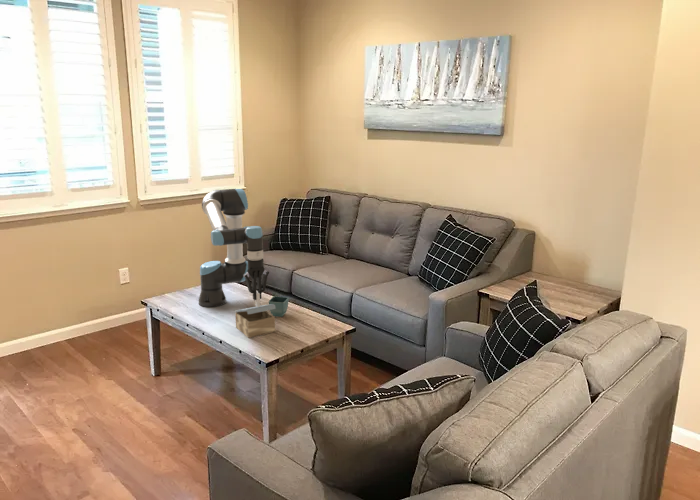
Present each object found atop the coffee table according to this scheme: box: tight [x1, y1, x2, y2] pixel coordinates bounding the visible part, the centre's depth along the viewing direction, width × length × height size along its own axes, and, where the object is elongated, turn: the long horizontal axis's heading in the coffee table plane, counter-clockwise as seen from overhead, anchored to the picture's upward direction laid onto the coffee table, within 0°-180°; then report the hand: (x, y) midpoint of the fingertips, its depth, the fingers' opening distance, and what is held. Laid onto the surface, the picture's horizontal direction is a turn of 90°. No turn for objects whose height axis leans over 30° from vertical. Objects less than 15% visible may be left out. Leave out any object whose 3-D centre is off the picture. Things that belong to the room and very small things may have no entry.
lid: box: [234, 304, 276, 314], centre depth 278 cm, size 17×14×2 cm
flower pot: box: [268, 295, 290, 318], centre depth 299 cm, size 9×9×9 cm
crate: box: [235, 310, 276, 339], centre depth 279 cm, size 16×14×8 cm
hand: (257, 305), depth 274 cm, fingers closed
